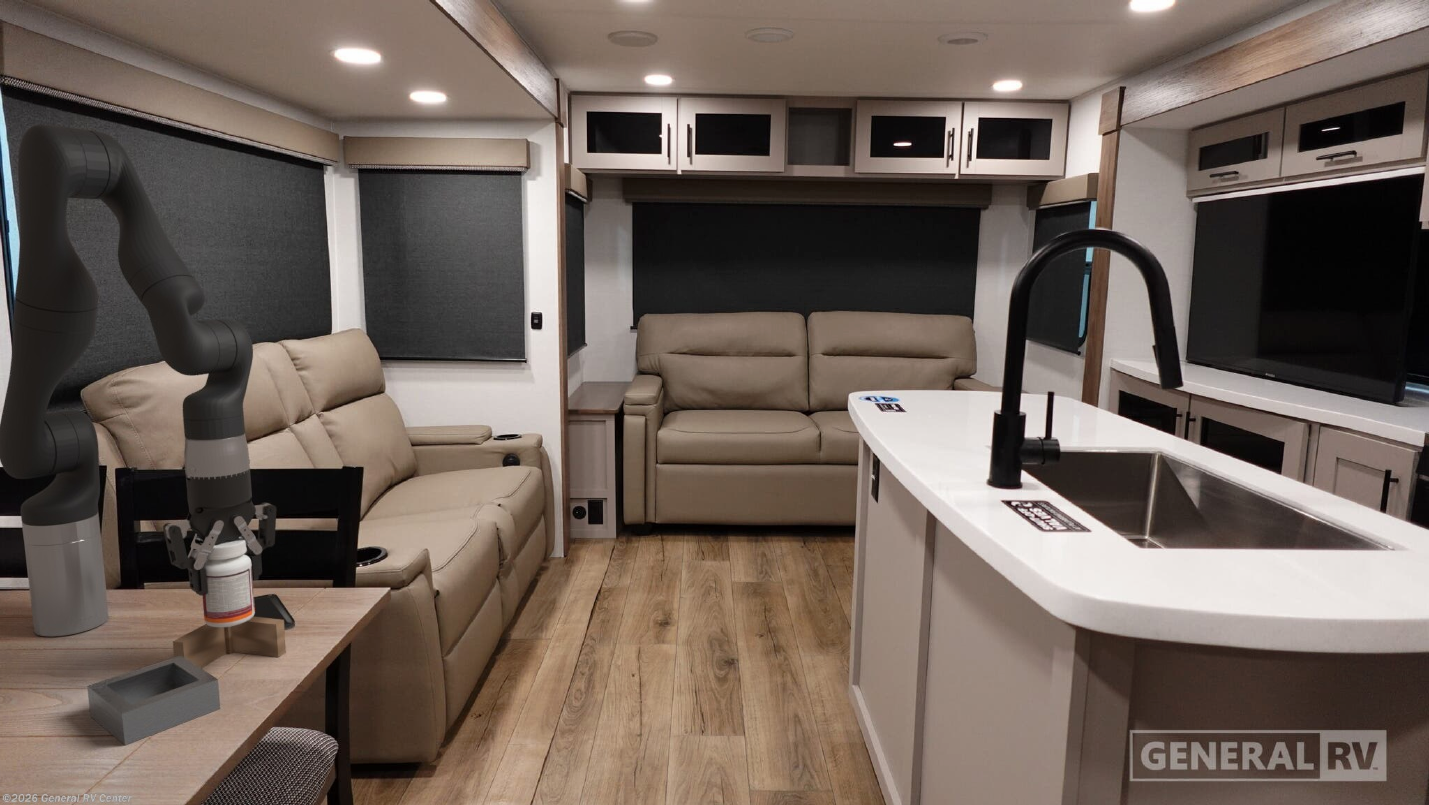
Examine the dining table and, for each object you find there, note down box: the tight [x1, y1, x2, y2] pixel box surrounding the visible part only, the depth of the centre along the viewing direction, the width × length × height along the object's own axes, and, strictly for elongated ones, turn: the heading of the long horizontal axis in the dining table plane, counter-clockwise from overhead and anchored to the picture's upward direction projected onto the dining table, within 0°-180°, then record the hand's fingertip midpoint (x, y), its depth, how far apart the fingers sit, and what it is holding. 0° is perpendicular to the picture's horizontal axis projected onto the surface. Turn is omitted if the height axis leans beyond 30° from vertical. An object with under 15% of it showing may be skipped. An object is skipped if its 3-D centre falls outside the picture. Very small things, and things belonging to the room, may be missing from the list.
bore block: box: [86, 655, 221, 746], centre depth 106 cm, size 11×11×4 cm
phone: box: [253, 593, 296, 631], centre depth 135 cm, size 8×1×15 cm
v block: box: [172, 617, 287, 669], centre depth 122 cm, size 8×14×5 cm, turn 124°
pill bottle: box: [202, 537, 255, 627], centre depth 117 cm, size 6×6×11 cm
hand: (227, 586), depth 117 cm, fingers closed on pill bottle, 6 cm apart
